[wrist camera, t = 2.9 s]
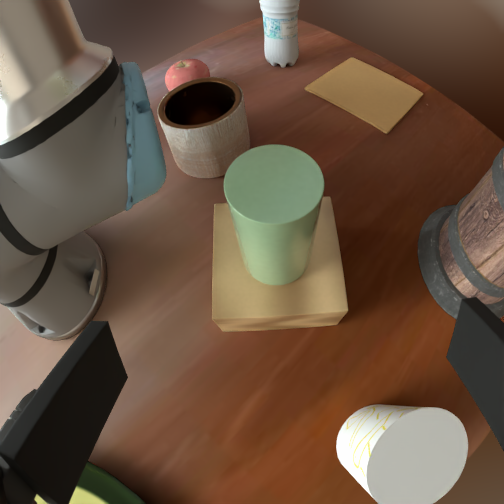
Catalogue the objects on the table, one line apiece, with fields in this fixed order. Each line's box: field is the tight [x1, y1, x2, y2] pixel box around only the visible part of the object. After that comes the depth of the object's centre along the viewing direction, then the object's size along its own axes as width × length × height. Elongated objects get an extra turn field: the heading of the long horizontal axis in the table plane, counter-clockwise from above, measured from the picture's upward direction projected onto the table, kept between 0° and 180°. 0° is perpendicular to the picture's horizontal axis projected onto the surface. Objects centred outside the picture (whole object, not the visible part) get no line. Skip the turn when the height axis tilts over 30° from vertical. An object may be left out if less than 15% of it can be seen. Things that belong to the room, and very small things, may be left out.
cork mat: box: [305, 57, 423, 134], centre depth 48 cm, size 16×16×1 cm
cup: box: [336, 404, 468, 504], centre depth 21 cm, size 8×8×12 cm
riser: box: [212, 197, 348, 332], centre depth 33 cm, size 12×12×6 cm
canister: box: [224, 145, 324, 285], centre depth 25 cm, size 6×6×11 cm
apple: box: [165, 59, 210, 91], centre depth 46 cm, size 7×7×8 cm
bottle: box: [259, 0, 300, 68], centre depth 44 cm, size 7×7×20 cm
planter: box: [157, 77, 250, 179], centre depth 39 cm, size 11×11×10 cm
